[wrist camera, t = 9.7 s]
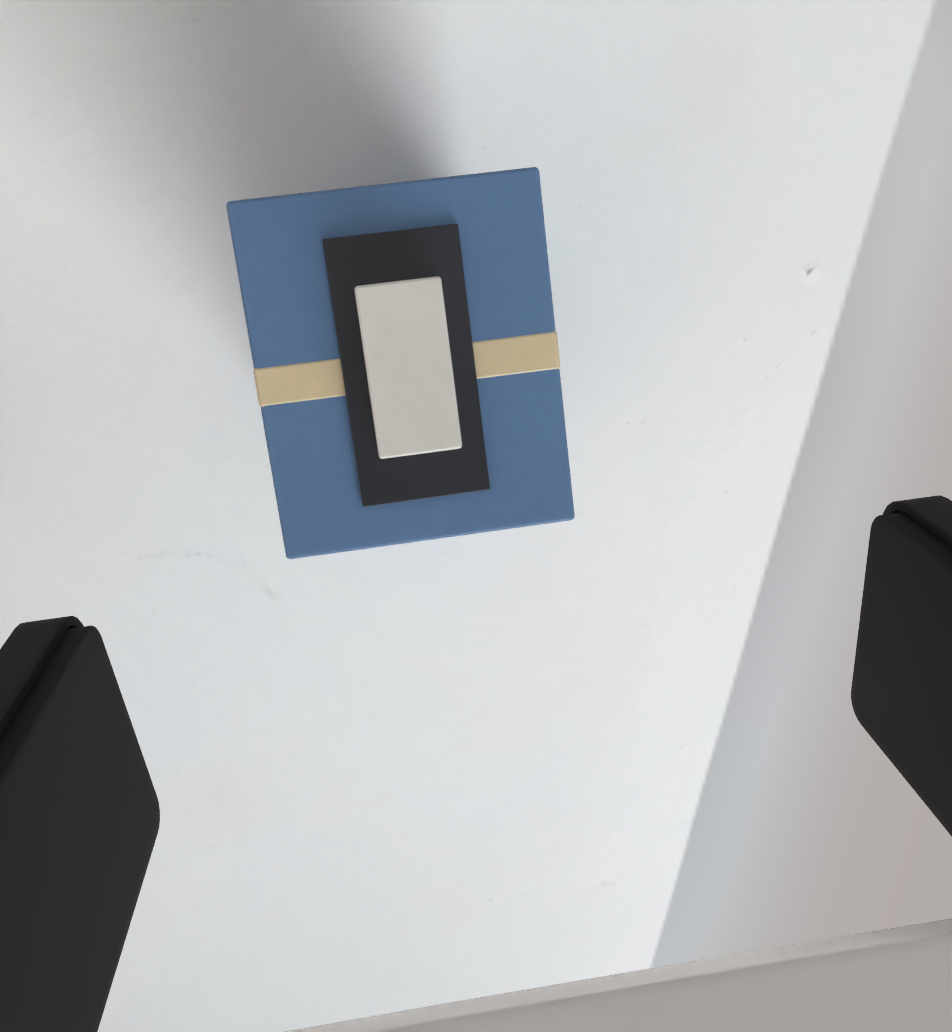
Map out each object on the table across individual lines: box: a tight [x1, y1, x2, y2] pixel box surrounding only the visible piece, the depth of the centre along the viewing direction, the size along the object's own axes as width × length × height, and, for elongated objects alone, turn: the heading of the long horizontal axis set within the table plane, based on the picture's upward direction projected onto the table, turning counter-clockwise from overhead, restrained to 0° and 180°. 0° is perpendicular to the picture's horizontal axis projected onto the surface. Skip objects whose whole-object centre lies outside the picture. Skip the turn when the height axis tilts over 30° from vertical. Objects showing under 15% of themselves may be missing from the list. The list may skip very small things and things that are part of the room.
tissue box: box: [226, 167, 574, 559], centre depth 22 cm, size 14×6×7 cm
